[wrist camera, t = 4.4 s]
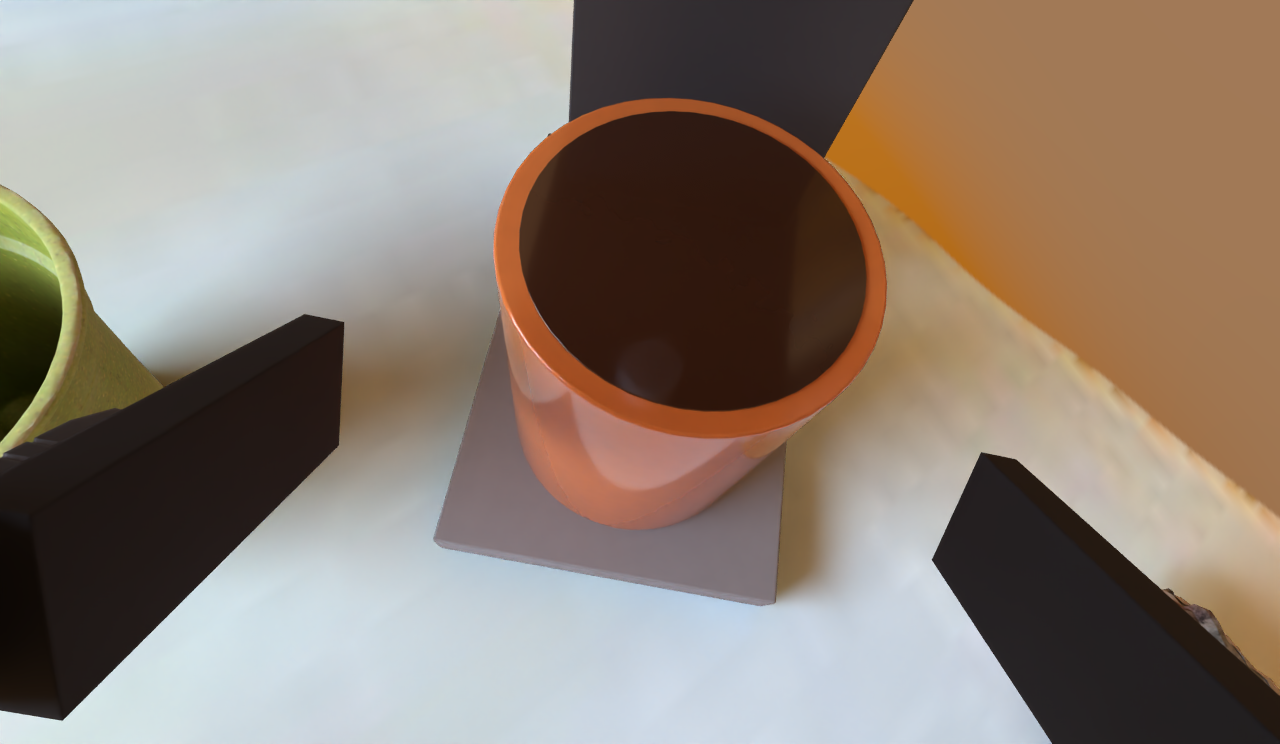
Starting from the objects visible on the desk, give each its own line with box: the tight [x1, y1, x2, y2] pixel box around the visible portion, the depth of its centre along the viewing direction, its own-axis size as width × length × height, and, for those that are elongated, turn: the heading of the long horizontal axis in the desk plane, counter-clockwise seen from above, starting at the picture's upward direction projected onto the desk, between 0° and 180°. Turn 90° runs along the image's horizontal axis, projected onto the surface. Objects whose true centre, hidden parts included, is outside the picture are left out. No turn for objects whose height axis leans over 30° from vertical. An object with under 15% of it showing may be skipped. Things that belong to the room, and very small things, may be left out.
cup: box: [493, 98, 887, 530], centre depth 17 cm, size 8×8×10 cm
